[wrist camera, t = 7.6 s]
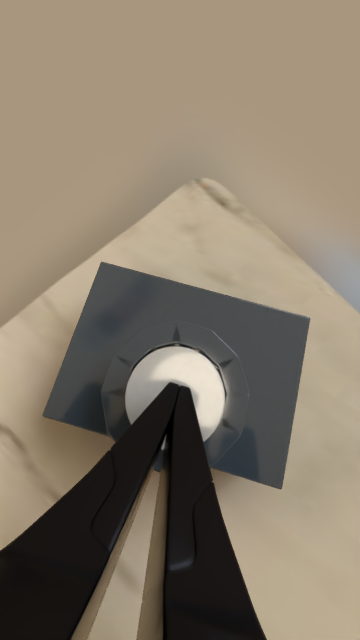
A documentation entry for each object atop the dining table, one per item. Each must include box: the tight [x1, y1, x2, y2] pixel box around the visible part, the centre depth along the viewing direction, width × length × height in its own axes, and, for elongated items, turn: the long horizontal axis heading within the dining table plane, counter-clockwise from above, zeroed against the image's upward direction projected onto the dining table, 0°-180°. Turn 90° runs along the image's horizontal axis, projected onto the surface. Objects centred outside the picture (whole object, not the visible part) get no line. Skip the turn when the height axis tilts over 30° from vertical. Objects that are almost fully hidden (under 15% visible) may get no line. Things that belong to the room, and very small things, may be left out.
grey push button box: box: [43, 262, 310, 489], centre depth 15 cm, size 10×14×7 cm
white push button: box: [125, 346, 225, 450], centre depth 11 cm, size 4×4×2 cm
